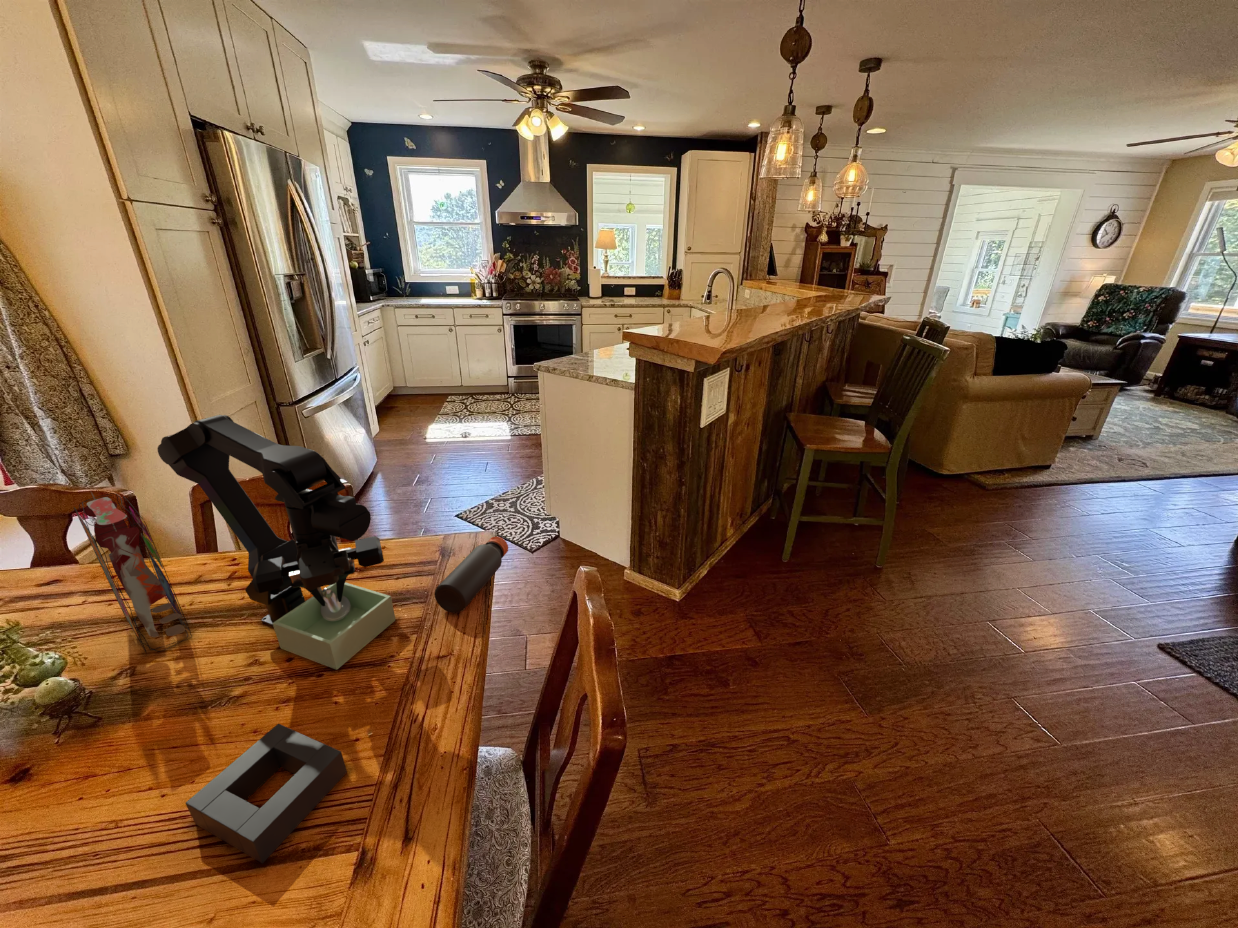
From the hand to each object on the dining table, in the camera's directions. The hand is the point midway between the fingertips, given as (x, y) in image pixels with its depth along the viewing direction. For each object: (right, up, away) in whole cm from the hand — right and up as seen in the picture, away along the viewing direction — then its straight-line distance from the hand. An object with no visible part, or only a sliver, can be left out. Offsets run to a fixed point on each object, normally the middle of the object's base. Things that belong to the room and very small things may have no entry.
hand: (332, 602), depth 87 cm
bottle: (+18, -1, +7) cm, 20 cm away
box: (-37, -5, +6) cm, 38 cm away
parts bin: (0, -6, +3) cm, 7 cm away
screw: (-3, -3, +6) cm, 8 cm away
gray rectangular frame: (+7, -18, -24) cm, 31 cm away
